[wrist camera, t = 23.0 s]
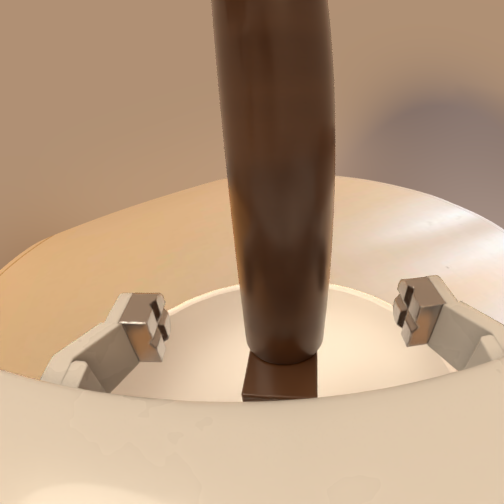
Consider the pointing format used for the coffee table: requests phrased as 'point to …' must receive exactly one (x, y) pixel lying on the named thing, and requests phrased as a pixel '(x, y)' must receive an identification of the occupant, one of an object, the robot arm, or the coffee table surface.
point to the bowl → (237, 351)
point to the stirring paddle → (279, 182)
